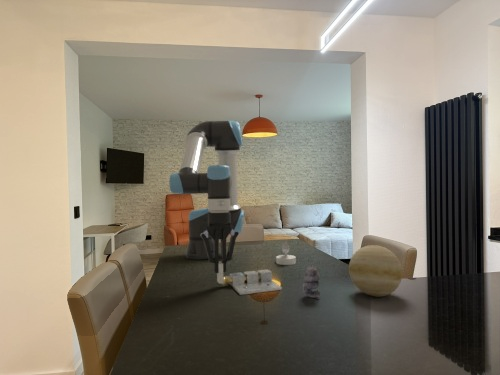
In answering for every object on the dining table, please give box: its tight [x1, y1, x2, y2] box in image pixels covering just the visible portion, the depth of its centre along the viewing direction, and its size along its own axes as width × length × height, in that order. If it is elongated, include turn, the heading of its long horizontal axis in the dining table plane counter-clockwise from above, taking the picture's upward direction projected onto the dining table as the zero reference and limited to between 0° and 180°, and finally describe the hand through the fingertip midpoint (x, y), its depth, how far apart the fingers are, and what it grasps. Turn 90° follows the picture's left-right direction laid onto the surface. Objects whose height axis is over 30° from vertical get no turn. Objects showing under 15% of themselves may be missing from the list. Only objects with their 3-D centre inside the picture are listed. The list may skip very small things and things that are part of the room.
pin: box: [221, 274, 261, 286], centre depth 110 cm, size 3×16×3 cm, turn 109°
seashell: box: [302, 264, 321, 298], centre depth 95 cm, size 5×5×10 cm
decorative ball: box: [348, 244, 403, 297], centre depth 97 cm, size 15×15×15 cm
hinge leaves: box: [223, 269, 282, 296], centre depth 110 cm, size 20×14×4 cm
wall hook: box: [275, 242, 297, 266], centre depth 140 cm, size 9×10×10 cm
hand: (220, 282), depth 107 cm, fingers closed
